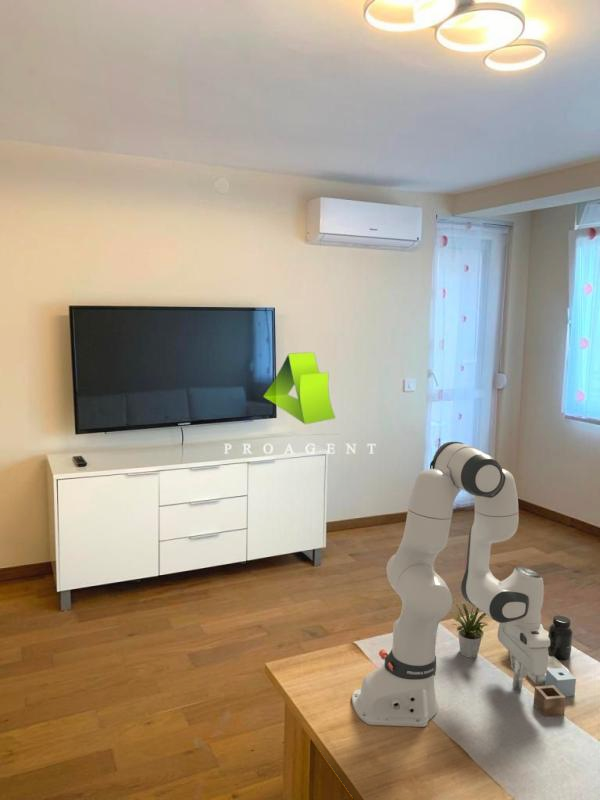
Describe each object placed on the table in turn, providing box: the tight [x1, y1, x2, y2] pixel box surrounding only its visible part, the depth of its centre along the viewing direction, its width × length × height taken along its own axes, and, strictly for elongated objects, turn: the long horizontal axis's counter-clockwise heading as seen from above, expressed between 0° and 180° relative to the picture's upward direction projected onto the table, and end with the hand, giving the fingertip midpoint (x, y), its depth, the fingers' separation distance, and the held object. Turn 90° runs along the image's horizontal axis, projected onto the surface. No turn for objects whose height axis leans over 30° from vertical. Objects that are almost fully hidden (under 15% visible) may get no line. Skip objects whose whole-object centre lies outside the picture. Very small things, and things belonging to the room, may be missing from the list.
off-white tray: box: [527, 655, 572, 684], centre depth 185 cm, size 11×9×2 cm
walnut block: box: [533, 685, 567, 718], centre depth 167 cm, size 6×6×5 cm
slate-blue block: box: [544, 668, 577, 697], centre depth 176 cm, size 6×6×5 cm
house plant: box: [449, 600, 489, 658], centre depth 194 cm, size 14×14×16 cm
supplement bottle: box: [547, 615, 574, 662], centre depth 194 cm, size 7×7×12 cm
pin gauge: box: [512, 658, 524, 690], centre depth 176 cm, size 2×2×9 cm
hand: (518, 672), depth 176 cm, fingers closed on pin gauge, 2 cm apart
